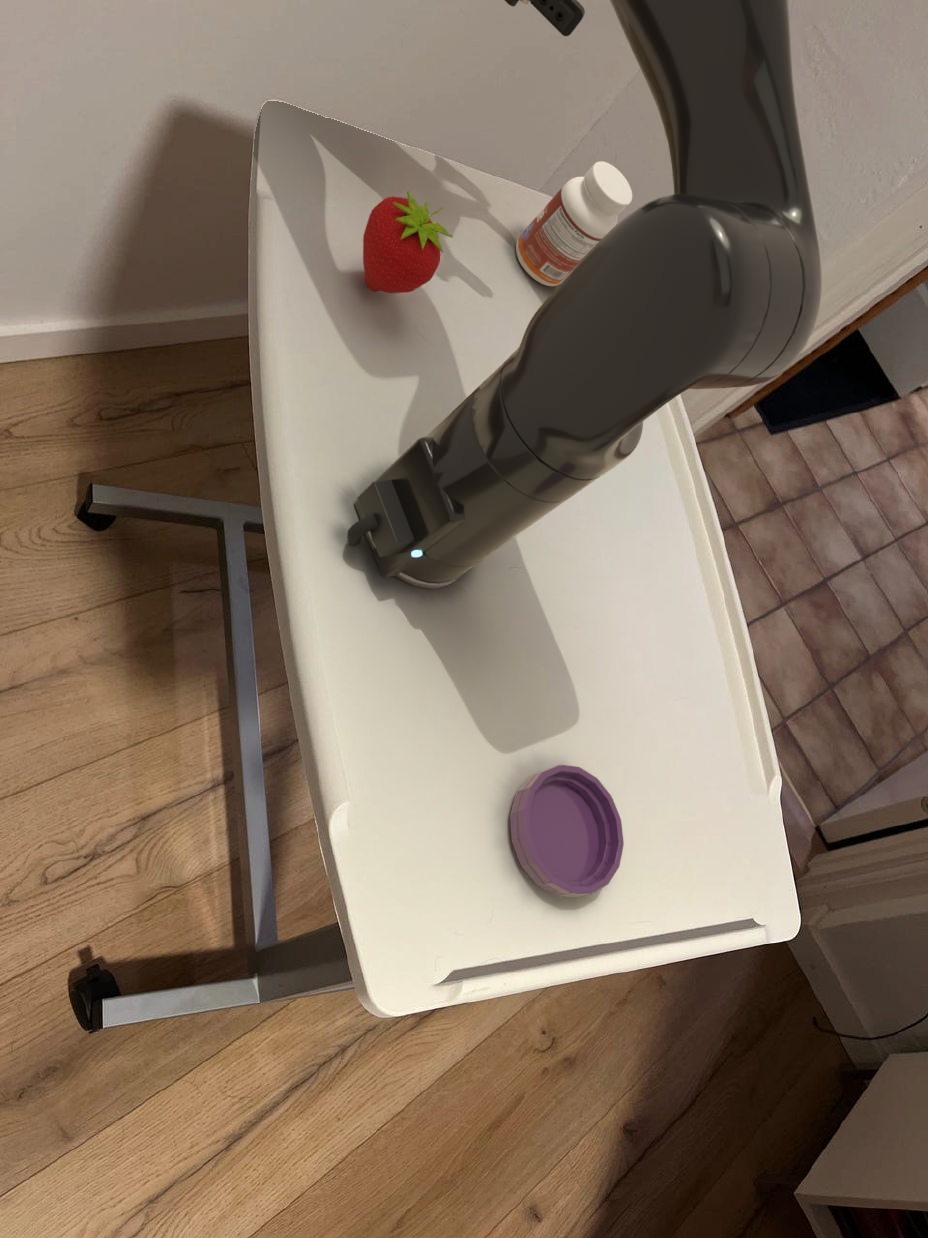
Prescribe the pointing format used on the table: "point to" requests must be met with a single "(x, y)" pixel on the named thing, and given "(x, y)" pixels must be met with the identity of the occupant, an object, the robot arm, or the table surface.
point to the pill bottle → (573, 223)
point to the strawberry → (400, 246)
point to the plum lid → (566, 831)
